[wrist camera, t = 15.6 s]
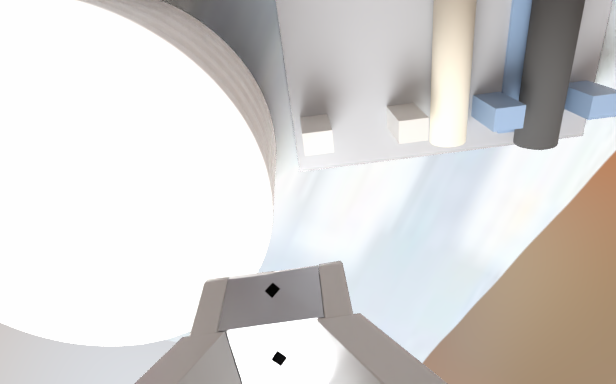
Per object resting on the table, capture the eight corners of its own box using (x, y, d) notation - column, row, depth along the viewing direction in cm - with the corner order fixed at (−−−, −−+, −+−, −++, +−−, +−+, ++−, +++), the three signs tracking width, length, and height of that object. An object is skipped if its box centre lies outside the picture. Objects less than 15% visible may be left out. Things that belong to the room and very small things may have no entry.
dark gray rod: (530, -56, 31) (558, -61, 28) (576, -63, 31) (610, -68, 28) (505, 137, 38) (525, 151, 35) (543, 133, 38) (566, 146, 35)
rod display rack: (270, -37, 32) (268, -40, 27) (621, -83, 31) (683, -95, 26) (299, 167, 40) (301, 193, 35) (575, 132, 40) (616, 153, 35)
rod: (428, -29, 32) (442, -30, 29) (468, -34, 32) (486, -36, 29) (424, 136, 38) (435, 149, 35) (457, 132, 38) (471, 144, 35)
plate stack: (29, -97, 29) (-107, -139, 19) (332, 112, 38) (350, 159, 28) (-63, 185, 39) (-184, 256, 29) (194, 300, 48) (169, 385, 38)
